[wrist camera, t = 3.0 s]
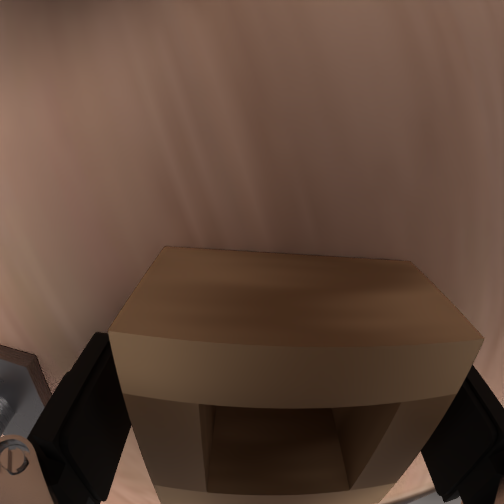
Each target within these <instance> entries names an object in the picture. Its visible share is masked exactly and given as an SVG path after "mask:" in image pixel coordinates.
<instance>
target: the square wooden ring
mask: <svg viewBox="0 0 504 504" xmlns="http://www.w3.org/2000/svg"><path fill="white" fill-rule="evenodd" d="M108 335H109V340H110V344H111V349H112V353H113V358H114V362H115V366H116V370H117V374H118V378H119V382H120V386H121V390H122V393H123V397H124V401H125V404H126V408H127V411H128V414H129V418H130V421H131V424H132V427H133V430H134V433H135V437H136V440H137V442H138V445H139V448H140V451H141V454H142V457H143V460H144V462H145V465H146V468H147V470H148V473H149V476H150V478H151V481H152V483H153V486H154V488H155V491H156V493H157V495H158V498H159V500H160V502H161V504H374V503H379V502H380V501H381V500H382V499H383V498H384V496H385V495H386V494H387V493H388V492H389V491H390V489H391V488H392V487H393V486H394V485H395V483H396V482H397V481H398V480H399V478H400V477H401V476H402V475H403V473H404V472H405V471H406V470H407V468H408V467H409V466H410V464H411V463H412V462H413V460H414V459H415V458H416V456H417V455H418V454H419V452H420V451H421V449H422V448H423V447H424V445H425V444H426V442H427V441H428V439H429V438H430V436H431V435H432V434H433V432H434V430H435V429H436V427H437V426H438V424H439V423H440V421H441V420H442V418H443V416H444V415H445V413H446V412H447V410H448V408H449V407H450V405H451V403H452V401H453V400H454V398H455V396H456V395H457V393H458V391H459V389H460V387H461V386H462V384H463V382H464V380H465V378H466V376H467V374H468V372H469V370H470V368H471V366H472V364H473V362H474V360H475V358H476V356H477V354H478V352H479V350H480V348H481V346H482V343H483V341H484V338H483V336H482V335H481V334H480V333H479V332H478V331H477V330H476V329H475V327H474V326H473V325H472V324H471V323H470V322H469V321H468V320H467V319H466V318H465V316H464V315H463V314H462V313H461V312H460V311H459V310H458V309H457V308H456V307H455V306H454V305H453V304H452V303H451V302H450V301H449V299H448V298H447V297H446V296H445V295H444V294H443V293H442V292H441V291H440V290H439V289H438V288H437V287H436V286H435V285H434V284H433V283H432V282H431V281H430V280H429V279H428V278H427V277H426V276H425V275H424V274H423V273H422V272H421V271H420V270H419V269H418V268H417V267H416V266H415V265H414V264H413V263H412V262H410V261H398V260H382V259H365V258H349V257H332V256H316V255H299V254H283V253H266V252H250V251H233V250H216V249H200V248H183V247H167V246H165V247H164V248H163V249H162V251H161V252H160V254H159V255H158V257H157V258H156V259H155V261H154V262H153V264H152V265H151V266H150V268H149V269H148V271H147V272H146V274H145V275H144V277H143V278H142V279H141V281H140V282H139V284H138V285H137V287H136V288H135V290H134V291H133V293H132V294H131V296H130V297H129V299H128V300H127V302H126V303H125V305H124V306H123V308H122V309H121V311H120V312H119V314H118V315H117V317H116V318H115V320H114V322H113V323H112V325H111V326H110V328H109V329H108Z"/></svg>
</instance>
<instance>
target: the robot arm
mask: <svg viewBox="0 0 504 504" xmlns="http://www.w3.org/2000/svg"><path fill="white" fill-rule="evenodd" d="M131 425H132V424H131V421H130V418H129V414H128V411H127V408H126V404H125V401H124V397H123V393H122V390H121V386H120V382H119V378H118V374H117V370H116V366H115V362H114V358H113V353H112V349H111V344H110V340H109V335H108V334H107V333H100V332H96V333H95V334H94V335H93V337H92V338H91V340H90V341H89V343H88V344H87V346H86V347H85V349H84V350H83V352H82V353H81V355H80V356H79V358H78V360H77V361H76V363H75V364H74V366H73V367H72V369H71V370H70V371H69V372H67V373H66V374H65V375H64V377H63V379H62V380H61V382H60V383H59V385H58V386H57V388H56V390H55V391H54V393H53V395H52V396H51V398H50V399H49V401H48V403H47V404H46V406H45V408H44V409H43V411H42V413H41V414H40V416H39V418H38V420H37V421H36V423H35V425H34V427H33V428H32V430H31V432H30V434H29V435H28V437H27V439H26V438H24V437H22V436H19V435H14V434H13V435H5V436H3V437H0V504H100V502H101V501H106V499H107V498H108V495H109V491H110V488H111V485H112V482H113V479H114V476H115V472H116V469H117V466H118V463H119V460H120V457H121V454H122V451H123V448H124V445H125V442H126V439H127V436H128V433H129V430H130V428H131ZM421 453H422V456H423V458H424V461H425V463H426V466H427V468H428V471H429V473H430V476H431V478H432V481H433V483H434V486H435V489H436V491H437V493H438V494H439V496H442V498H443V501H444V502H448V501H451V500H453V499H456V498H458V497H459V496H460V497H461V499H462V501H461V504H504V408H503V407H502V405H501V404H500V402H499V401H498V399H497V398H496V396H495V395H494V394H493V392H492V391H491V389H490V388H489V386H488V385H487V384H486V382H485V381H484V379H483V378H482V377H481V375H480V374H479V373H478V371H477V370H476V369H475V367H474V366H473V365H472V366H471V368H470V370H469V372H468V374H467V376H466V378H465V380H464V382H463V384H462V386H461V387H460V389H459V391H458V393H457V395H456V396H455V398H454V400H453V401H452V403H451V405H450V407H449V408H448V410H447V412H446V413H445V415H444V416H443V418H442V420H441V421H440V423H439V424H438V426H437V427H436V429H435V430H434V432H433V434H432V435H431V436H430V438H429V439H428V441H427V442H426V444H425V445H424V447H423V448H422V449H421Z"/></svg>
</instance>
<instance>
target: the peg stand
mask: <svg viewBox="0 0 504 504" xmlns="http://www.w3.org/2000/svg"><path fill="white" fill-rule="evenodd" d="M51 396H52V395H51V393H50V390H49V388H48V386H47V383H46V381H45V378H44V376H43V373H42V371H41V368H40V366H39V363H38V361H37V358H36V355H32V354H28V353H25V352H21V351H18V350H14V349H11V348H8V347H5V346H1V345H0V437H1V436H2V434H3V435H13V434H14V435H19V436H22V437H24V438H26V439H27V437H28V435H29V434H30V432H31V430H32V428H33V427H34V425H35V423H36V421H37V420H38V418H39V416H40V414H41V413H42V411H43V409H44V408H45V406H46V404H47V403H48V401H49V399H50V398H51Z"/></svg>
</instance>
